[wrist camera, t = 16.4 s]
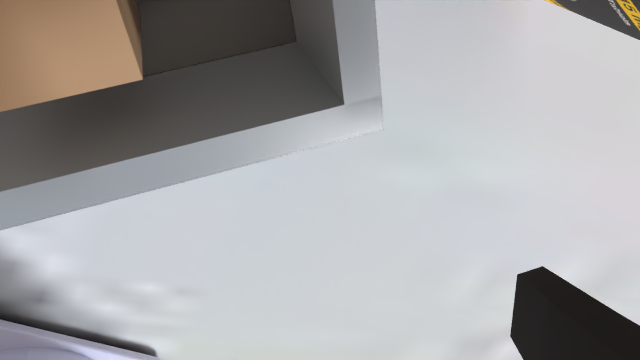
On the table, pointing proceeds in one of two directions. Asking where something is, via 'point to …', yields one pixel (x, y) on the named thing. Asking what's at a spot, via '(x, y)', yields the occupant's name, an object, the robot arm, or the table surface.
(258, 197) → the table surface
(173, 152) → the grey u-shaped wall
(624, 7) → the medicine bottle
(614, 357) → the robot arm
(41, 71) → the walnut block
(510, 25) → the table surface
